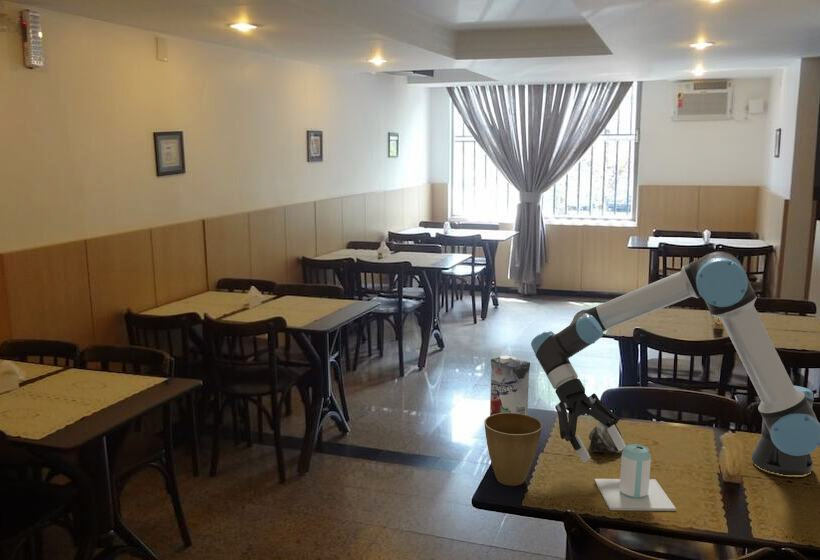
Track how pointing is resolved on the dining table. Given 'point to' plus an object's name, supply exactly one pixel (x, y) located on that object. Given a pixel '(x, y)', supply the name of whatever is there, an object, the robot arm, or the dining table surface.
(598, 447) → the fossil
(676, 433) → the dining table surface
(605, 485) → the white mat
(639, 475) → the can
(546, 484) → the dining table surface
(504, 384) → the juice carton
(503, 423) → the plant pot
